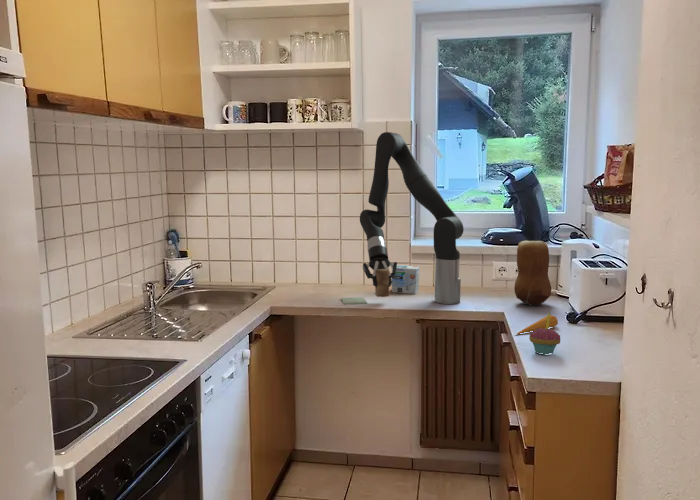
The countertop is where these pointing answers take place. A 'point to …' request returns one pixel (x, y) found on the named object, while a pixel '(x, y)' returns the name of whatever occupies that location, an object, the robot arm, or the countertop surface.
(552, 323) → the carrot
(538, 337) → the cupcake
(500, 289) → the countertop surface
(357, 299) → the coaster
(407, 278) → the light bulb box
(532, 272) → the butternut squash
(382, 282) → the walnut block
